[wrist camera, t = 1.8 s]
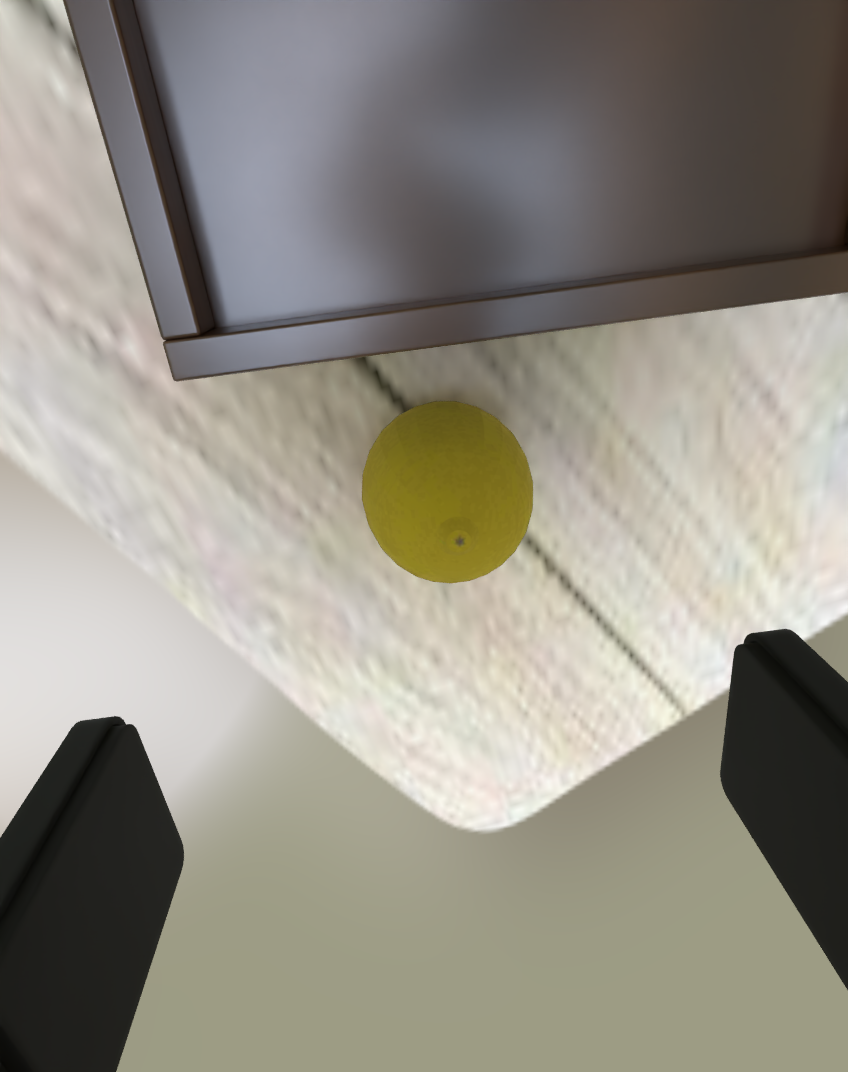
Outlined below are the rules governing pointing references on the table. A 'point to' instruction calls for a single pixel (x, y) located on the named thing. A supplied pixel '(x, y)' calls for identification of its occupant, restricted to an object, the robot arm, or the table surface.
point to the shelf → (465, 165)
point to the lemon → (447, 491)
